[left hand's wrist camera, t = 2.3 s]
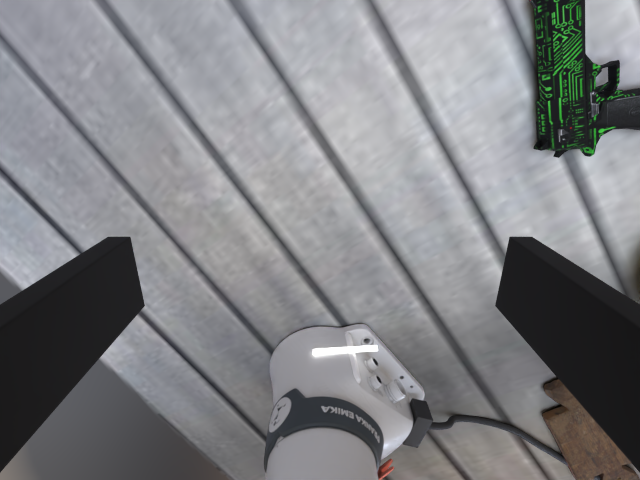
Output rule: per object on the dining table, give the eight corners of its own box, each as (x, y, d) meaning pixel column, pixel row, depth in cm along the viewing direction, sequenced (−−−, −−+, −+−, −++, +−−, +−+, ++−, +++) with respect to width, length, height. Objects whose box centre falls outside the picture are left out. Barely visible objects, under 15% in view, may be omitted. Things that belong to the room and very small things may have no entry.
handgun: (686, 141, 35) (535, 170, 36) (658, 139, 38) (519, 166, 38) (718, -54, 30) (539, -17, 30) (683, -40, 32) (520, -6, 33)
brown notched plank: (580, 491, 58) (641, 468, 56) (587, 502, 57) (651, 479, 55) (528, 389, 50) (598, 359, 48) (535, 399, 48) (607, 368, 47)
